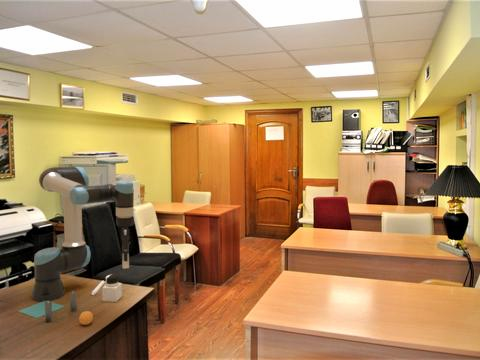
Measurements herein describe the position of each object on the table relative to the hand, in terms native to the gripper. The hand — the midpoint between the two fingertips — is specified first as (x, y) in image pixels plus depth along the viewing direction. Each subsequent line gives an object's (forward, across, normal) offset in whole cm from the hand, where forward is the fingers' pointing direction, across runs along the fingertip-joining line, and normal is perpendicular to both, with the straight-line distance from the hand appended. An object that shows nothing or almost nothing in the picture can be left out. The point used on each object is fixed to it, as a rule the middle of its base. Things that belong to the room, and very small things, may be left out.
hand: (125, 263), depth 173 cm
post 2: (+24, +11, +24) cm, 35 cm away
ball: (+21, -4, +17) cm, 27 cm away
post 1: (+24, +2, +32) cm, 40 cm away
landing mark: (+24, +17, +38) cm, 48 cm away
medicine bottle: (+24, +21, +7) cm, 33 cm away
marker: (+24, +36, +14) cm, 46 cm away
